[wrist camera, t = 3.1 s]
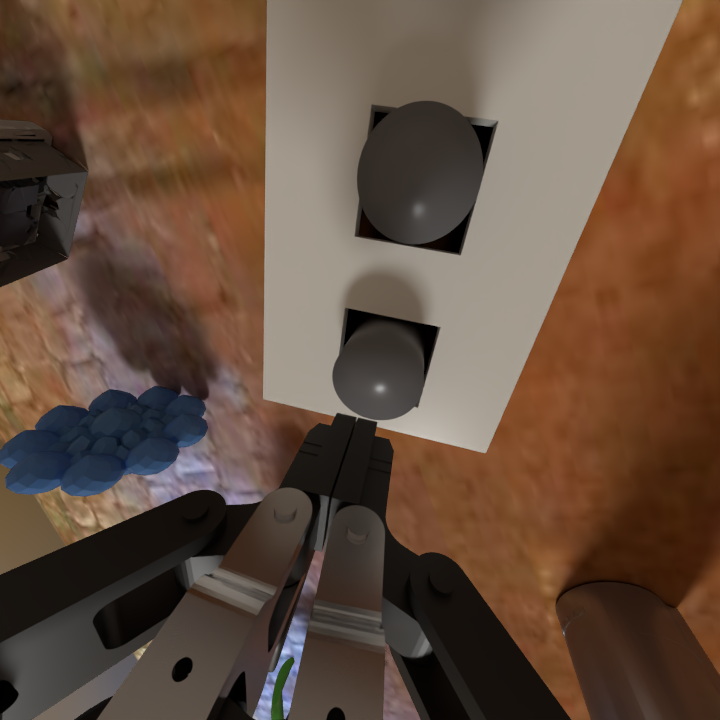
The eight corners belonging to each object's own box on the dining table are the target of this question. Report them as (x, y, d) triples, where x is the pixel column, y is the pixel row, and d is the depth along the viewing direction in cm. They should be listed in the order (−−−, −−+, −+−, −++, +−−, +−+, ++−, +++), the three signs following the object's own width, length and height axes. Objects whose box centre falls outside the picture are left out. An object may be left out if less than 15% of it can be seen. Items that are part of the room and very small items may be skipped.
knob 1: (478, 142, 14) (501, 109, 10) (452, 242, 16) (461, 253, 12) (385, 129, 15) (366, 92, 10) (370, 228, 17) (349, 233, 12)
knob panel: (677, -154, 12) (876, -446, 7) (472, 399, 24) (485, 453, 18) (332, -165, 14) (270, -411, 8) (298, 359, 25) (263, 398, 20)
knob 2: (432, 317, 18) (434, 350, 14) (415, 381, 20) (412, 429, 16) (359, 302, 19) (337, 329, 14) (349, 366, 20) (327, 408, 16)
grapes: (128, 416, 32) (-22, 517, 21) (113, 358, 29) (-69, 441, 18) (232, 443, 31) (128, 565, 20) (229, 384, 28) (104, 491, 17)
